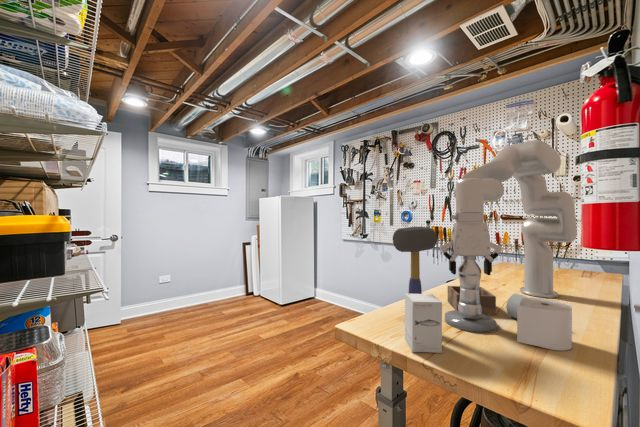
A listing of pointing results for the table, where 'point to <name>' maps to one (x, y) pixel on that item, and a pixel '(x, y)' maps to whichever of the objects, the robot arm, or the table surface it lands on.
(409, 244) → the rubber mallet
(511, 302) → the ceramic mug
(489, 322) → the plate
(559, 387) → the table surface
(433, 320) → the supplement box
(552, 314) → the toilet tissue
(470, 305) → the plastic bottle
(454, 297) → the holder
